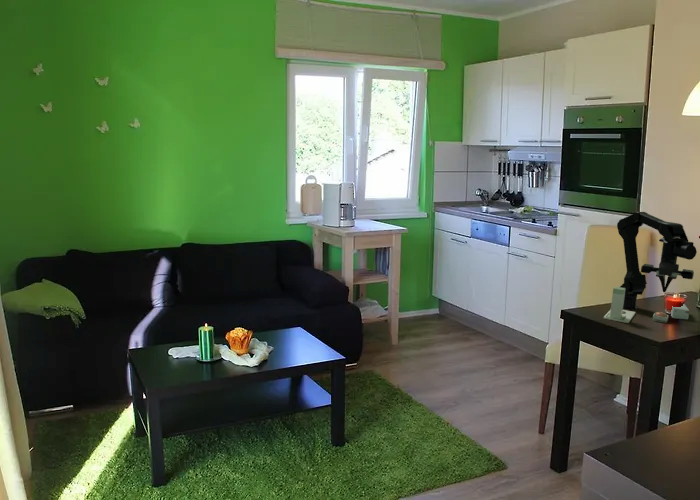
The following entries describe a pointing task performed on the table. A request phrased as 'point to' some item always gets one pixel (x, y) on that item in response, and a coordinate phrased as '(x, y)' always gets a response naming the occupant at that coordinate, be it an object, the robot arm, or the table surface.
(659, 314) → the button
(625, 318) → the picture board
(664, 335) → the table surface
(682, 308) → the skincare box
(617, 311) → the pale green tall box
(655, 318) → the button housing
